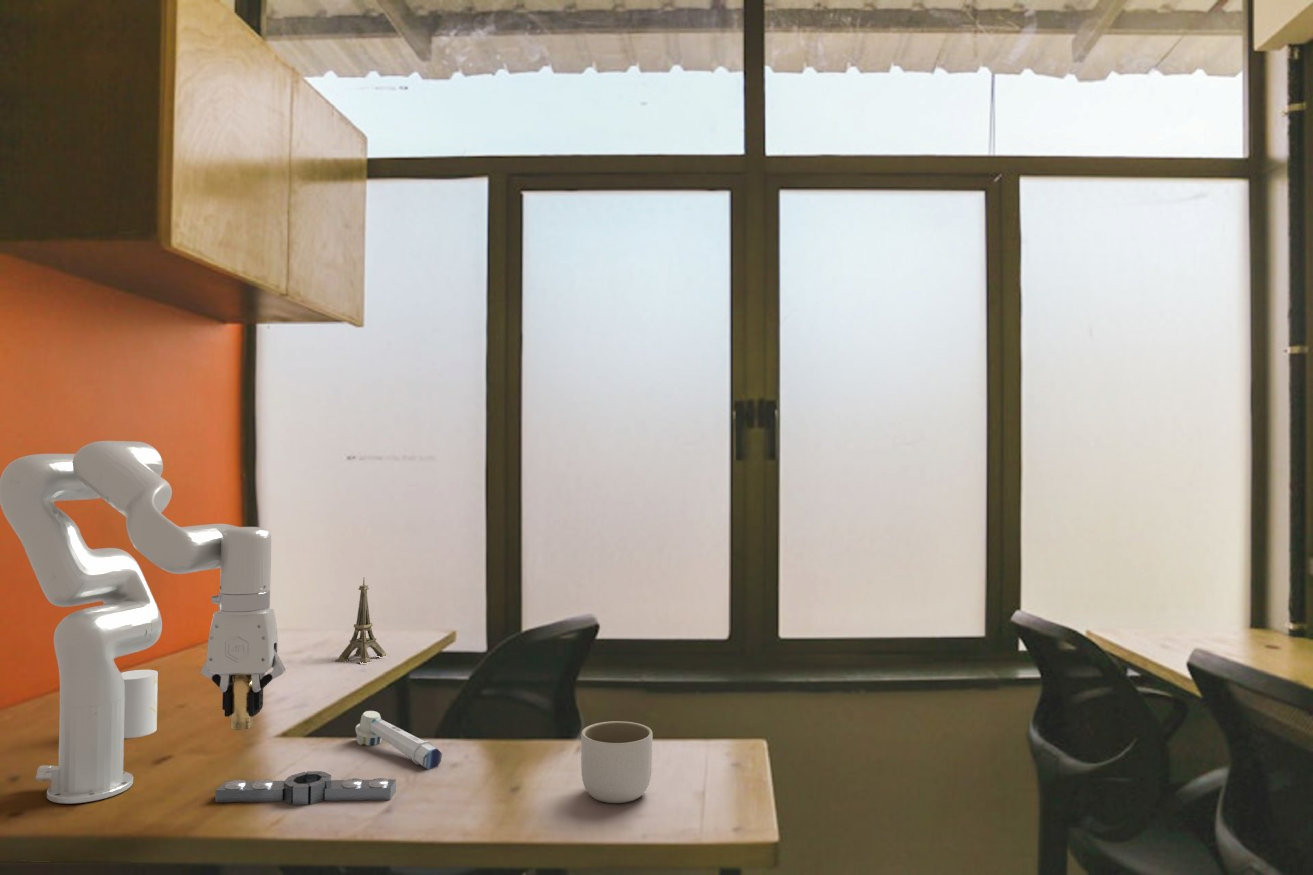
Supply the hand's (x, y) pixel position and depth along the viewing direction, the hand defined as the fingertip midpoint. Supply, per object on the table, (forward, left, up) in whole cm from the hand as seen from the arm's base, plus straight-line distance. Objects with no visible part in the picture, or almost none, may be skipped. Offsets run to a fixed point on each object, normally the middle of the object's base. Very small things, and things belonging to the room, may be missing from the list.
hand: (242, 712), depth 145 cm
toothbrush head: (+19, +27, -17) cm, 37 cm away
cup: (-38, +42, -16) cm, 59 cm away
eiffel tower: (-8, +106, -16) cm, 107 cm away
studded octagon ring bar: (+9, +6, -16) cm, 19 cm away
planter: (+62, +5, -16) cm, 64 cm away
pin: (0, 0, -2) cm, 2 cm away
